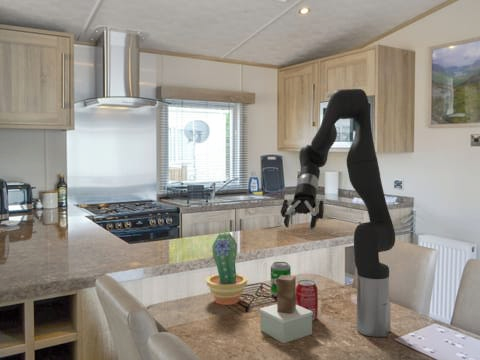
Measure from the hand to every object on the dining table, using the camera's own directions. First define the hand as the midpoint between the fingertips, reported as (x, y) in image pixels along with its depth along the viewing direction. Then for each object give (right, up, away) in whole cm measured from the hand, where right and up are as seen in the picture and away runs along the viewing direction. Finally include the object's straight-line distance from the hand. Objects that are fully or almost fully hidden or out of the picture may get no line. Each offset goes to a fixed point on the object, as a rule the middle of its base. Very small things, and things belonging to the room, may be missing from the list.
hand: (299, 226), depth 142 cm
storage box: (-6, -31, -12) cm, 34 cm away
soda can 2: (+2, -30, -2) cm, 30 cm away
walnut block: (-6, -24, -13) cm, 28 cm away
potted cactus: (-24, -29, +16) cm, 41 cm away
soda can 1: (-4, -28, +22) cm, 36 cm away
